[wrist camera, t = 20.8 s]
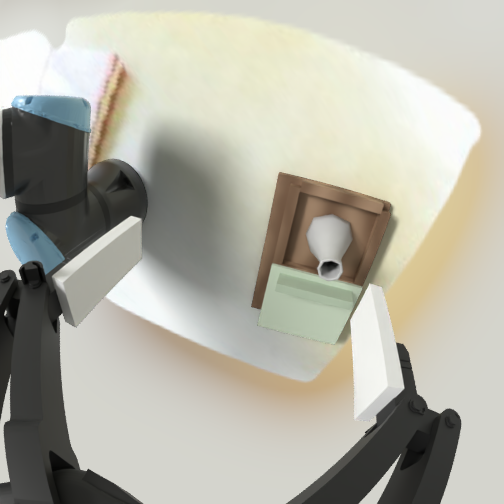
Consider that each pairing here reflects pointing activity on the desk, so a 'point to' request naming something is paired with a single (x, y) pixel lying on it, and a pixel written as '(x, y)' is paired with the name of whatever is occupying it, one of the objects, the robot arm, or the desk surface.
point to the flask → (329, 244)
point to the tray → (300, 217)
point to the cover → (307, 304)
